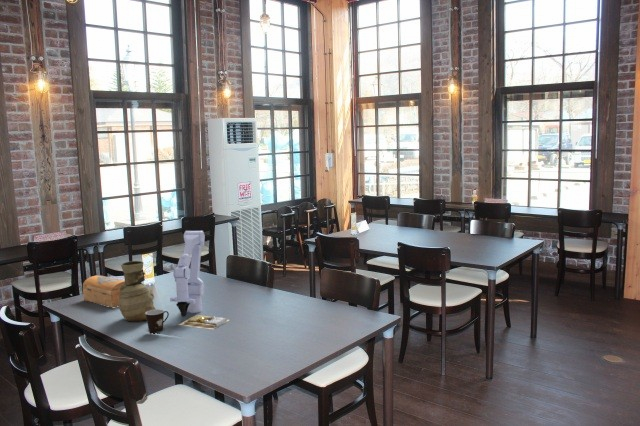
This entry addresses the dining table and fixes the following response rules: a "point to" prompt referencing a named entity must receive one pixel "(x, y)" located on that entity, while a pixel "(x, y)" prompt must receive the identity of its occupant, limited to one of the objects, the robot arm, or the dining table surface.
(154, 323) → the coffee mug
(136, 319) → the ceramic vessel
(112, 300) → the wooden box
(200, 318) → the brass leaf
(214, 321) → the panel
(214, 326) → the jig board
